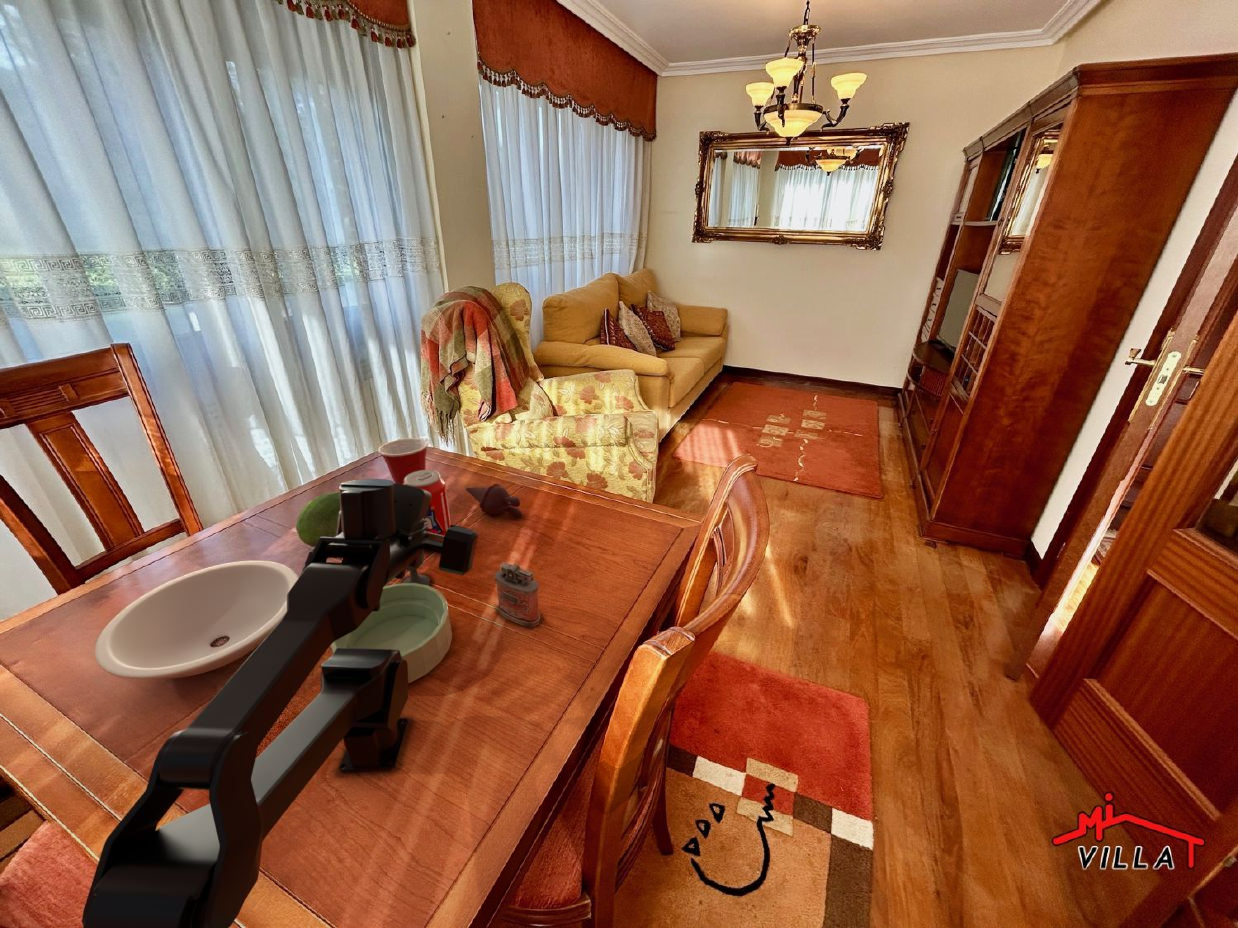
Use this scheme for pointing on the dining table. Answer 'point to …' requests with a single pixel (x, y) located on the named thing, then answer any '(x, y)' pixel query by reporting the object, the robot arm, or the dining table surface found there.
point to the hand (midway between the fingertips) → (430, 521)
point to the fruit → (319, 518)
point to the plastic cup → (404, 457)
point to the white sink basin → (196, 621)
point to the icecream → (496, 500)
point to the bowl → (406, 627)
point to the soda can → (438, 506)
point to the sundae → (414, 575)
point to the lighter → (517, 595)
